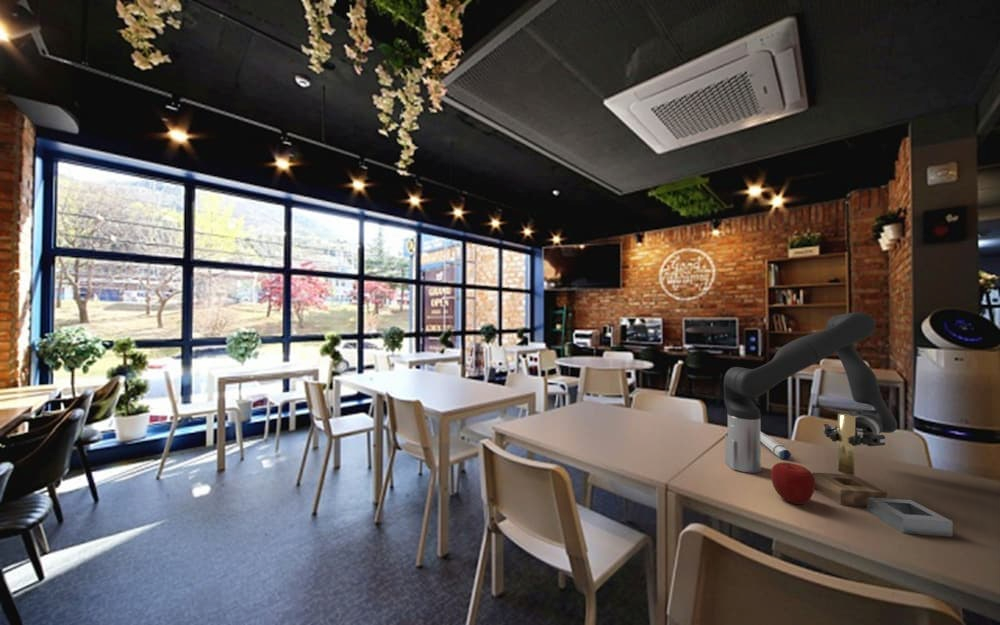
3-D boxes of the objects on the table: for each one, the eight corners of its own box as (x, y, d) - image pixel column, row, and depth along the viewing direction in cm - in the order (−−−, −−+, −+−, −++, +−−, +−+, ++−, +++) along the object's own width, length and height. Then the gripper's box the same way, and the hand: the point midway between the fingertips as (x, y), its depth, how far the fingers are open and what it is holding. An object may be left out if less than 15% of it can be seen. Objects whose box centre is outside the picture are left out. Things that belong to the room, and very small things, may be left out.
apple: (824, 511, 97) (823, 472, 97) (783, 508, 98) (783, 470, 98) (800, 493, 106) (800, 458, 106) (763, 491, 107) (763, 456, 108)
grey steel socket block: (903, 533, 87) (902, 518, 87) (867, 510, 97) (867, 497, 97) (952, 536, 85) (952, 521, 86) (911, 513, 95) (911, 499, 95)
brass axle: (843, 474, 103) (844, 416, 103) (834, 468, 107) (834, 413, 107) (858, 475, 103) (858, 417, 103) (848, 469, 106) (848, 413, 106)
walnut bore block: (840, 504, 100) (840, 489, 100) (812, 485, 111) (812, 472, 111) (886, 507, 98) (886, 492, 98) (853, 488, 109) (853, 474, 109)
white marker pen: (777, 449, 131) (741, 419, 155) (776, 466, 132) (740, 434, 156) (794, 450, 130) (754, 420, 155) (792, 467, 131) (753, 435, 155)
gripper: (829, 411, 119) (811, 420, 109) (893, 423, 107) (879, 433, 97) (829, 435, 119) (811, 445, 109) (893, 449, 107) (879, 462, 97)
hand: (843, 439), depth 103 cm, fingers closed on brass axle, 3 cm apart
